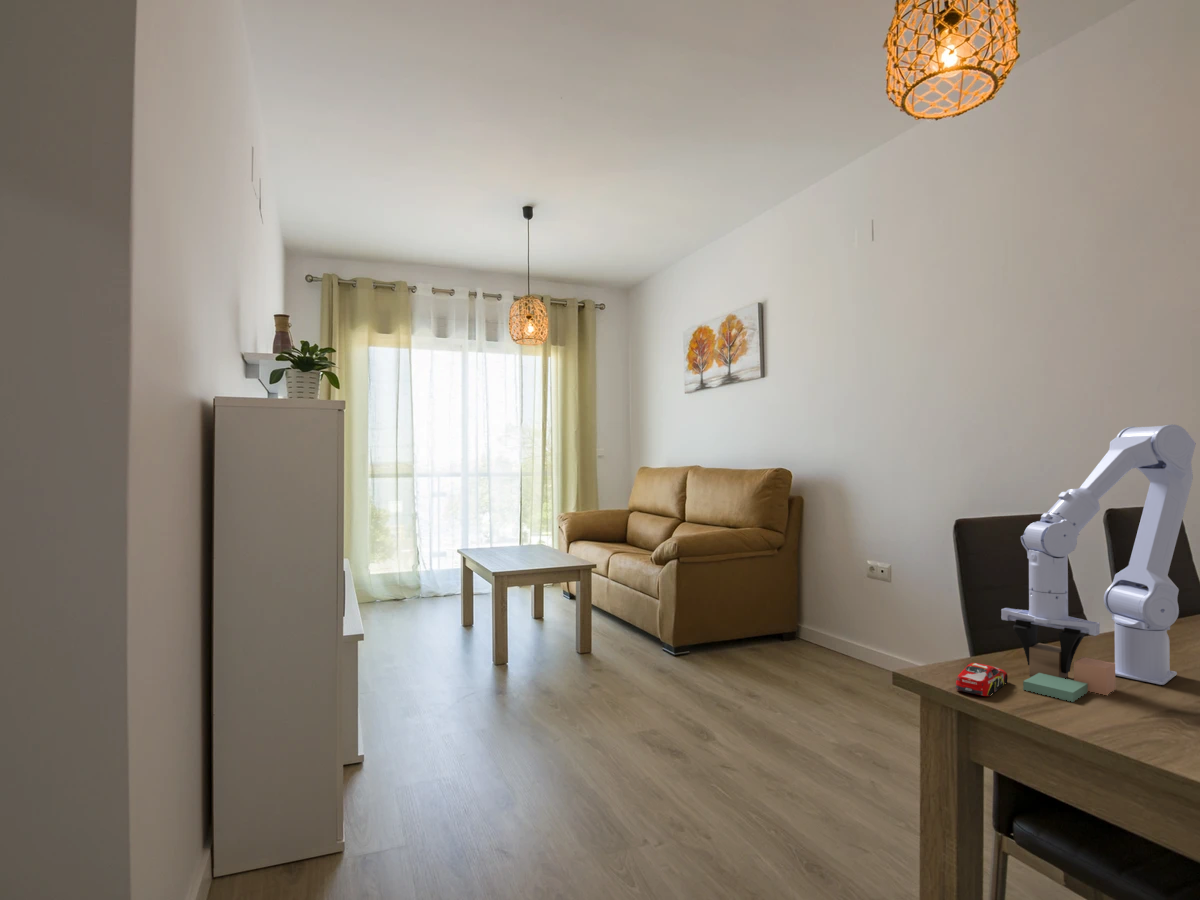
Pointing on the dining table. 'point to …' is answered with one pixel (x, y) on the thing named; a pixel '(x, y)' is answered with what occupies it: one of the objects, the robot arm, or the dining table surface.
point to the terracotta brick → (1095, 674)
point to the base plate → (1055, 687)
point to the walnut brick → (1045, 660)
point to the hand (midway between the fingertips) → (1048, 668)
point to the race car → (981, 679)
